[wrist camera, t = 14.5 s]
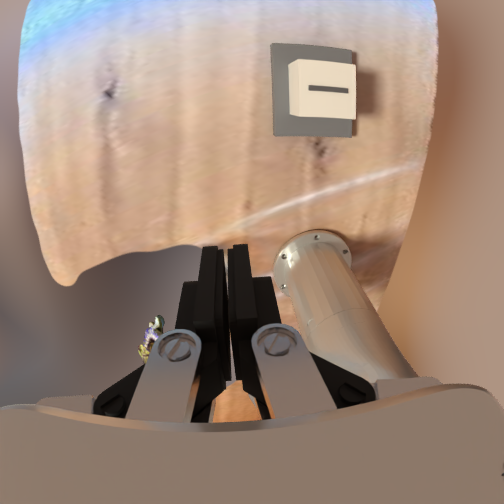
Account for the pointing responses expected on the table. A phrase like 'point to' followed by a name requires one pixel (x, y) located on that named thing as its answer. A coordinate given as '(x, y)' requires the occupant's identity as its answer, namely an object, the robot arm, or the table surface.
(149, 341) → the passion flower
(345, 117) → the cream coin box
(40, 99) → the table surface
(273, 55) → the plate
